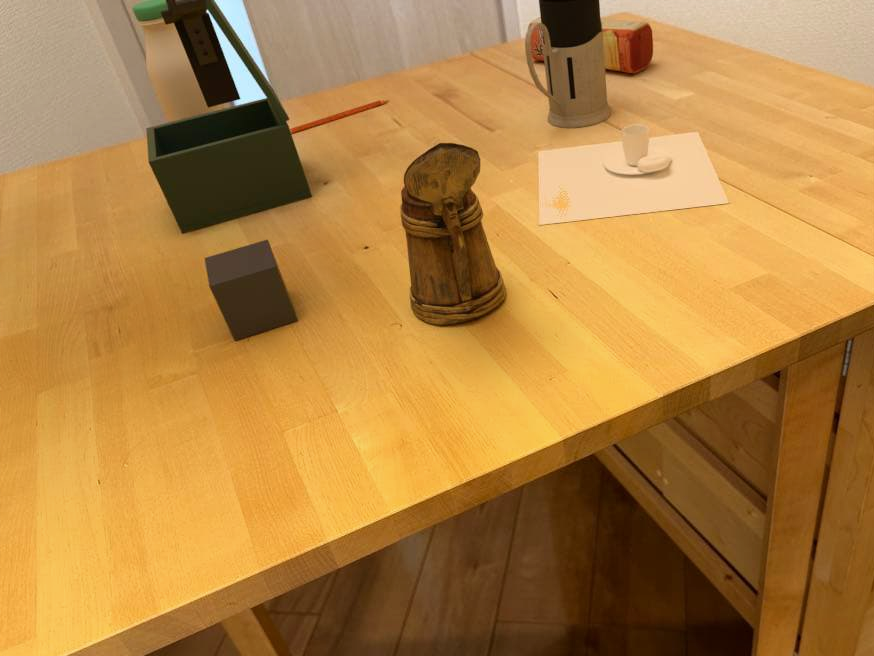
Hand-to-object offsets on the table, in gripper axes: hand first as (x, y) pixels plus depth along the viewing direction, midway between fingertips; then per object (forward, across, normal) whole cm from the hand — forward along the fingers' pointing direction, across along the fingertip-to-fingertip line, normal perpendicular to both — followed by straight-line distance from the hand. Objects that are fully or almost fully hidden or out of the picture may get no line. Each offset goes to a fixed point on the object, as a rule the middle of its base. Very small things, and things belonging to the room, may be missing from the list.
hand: (215, 83), depth 68 cm
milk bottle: (+19, +42, +4) cm, 47 cm away
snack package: (+19, +36, -55) cm, 69 cm away
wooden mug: (+19, -19, -13) cm, 30 cm away
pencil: (+19, +43, -15) cm, 49 cm away
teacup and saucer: (+20, -3, -39) cm, 44 cm away
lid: (+2, +23, -4) cm, 23 cm away
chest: (+19, +23, +2) cm, 30 cm away
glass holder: (+19, +16, -41) cm, 48 cm away
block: (+19, -8, +4) cm, 21 cm away
